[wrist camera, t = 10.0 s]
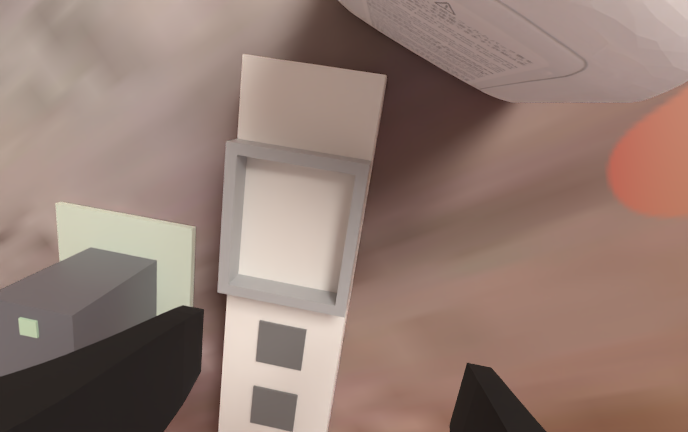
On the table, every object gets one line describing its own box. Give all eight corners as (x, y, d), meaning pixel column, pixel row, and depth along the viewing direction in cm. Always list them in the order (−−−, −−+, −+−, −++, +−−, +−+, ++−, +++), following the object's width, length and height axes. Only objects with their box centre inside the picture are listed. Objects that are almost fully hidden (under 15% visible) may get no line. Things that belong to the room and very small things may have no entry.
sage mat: (190, 377, 24) (187, 381, 24) (71, 351, 25) (66, 355, 25) (195, 226, 21) (192, 228, 21) (61, 201, 22) (55, 203, 22)
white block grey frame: (325, 446, 24) (313, 504, 21) (233, 425, 25) (206, 478, 21) (387, 78, 18) (385, 72, 15) (262, 60, 19) (231, 50, 15)
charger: (156, 336, 23) (76, 414, 17) (93, 323, 24) (-5, 395, 18) (156, 260, 22) (70, 317, 16) (90, 247, 22) (-19, 298, 16)
